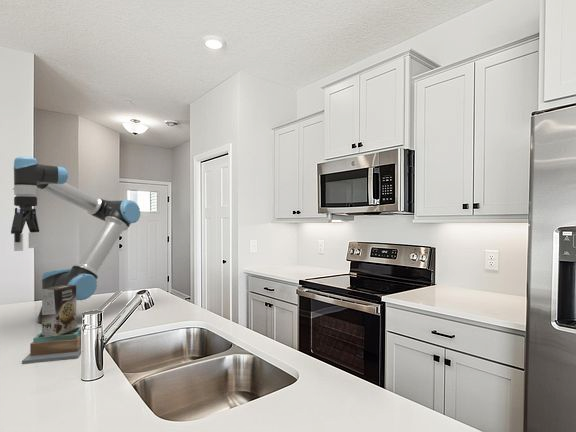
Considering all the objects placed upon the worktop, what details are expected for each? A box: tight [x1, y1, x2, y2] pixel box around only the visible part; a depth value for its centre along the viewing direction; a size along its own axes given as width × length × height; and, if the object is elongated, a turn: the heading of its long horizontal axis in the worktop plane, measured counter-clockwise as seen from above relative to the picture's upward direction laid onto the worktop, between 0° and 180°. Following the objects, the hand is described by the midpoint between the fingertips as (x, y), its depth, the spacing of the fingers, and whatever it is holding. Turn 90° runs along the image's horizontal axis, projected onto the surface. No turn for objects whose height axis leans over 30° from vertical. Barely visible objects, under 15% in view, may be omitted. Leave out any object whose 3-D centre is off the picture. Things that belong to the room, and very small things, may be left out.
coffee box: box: [41, 285, 77, 336], centre depth 130 cm, size 9×6×16 cm
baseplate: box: [21, 347, 82, 365], centre depth 130 cm, size 20×16×1 cm
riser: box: [29, 326, 82, 356], centre depth 130 cm, size 12×14×6 cm
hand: (26, 249), depth 146 cm, fingers open, 13 cm apart
